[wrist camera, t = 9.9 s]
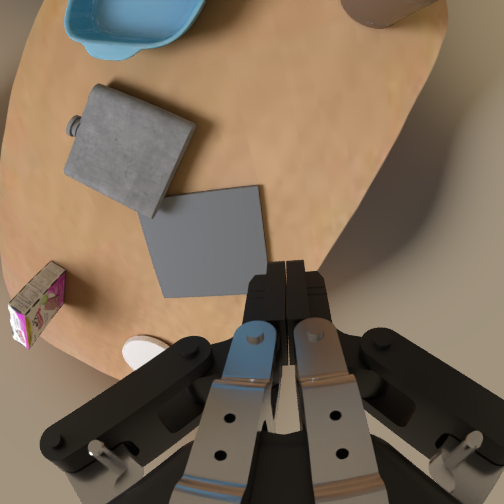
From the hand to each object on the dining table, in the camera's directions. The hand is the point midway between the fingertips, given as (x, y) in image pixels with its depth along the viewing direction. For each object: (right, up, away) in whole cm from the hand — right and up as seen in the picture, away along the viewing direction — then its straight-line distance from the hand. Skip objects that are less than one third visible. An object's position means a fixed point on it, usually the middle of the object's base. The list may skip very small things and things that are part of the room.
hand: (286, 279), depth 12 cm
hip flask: (-13, +13, +30) cm, 35 cm away
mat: (-9, +2, +37) cm, 38 cm away
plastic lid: (-24, -23, +52) cm, 62 cm away
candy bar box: (-45, -6, +44) cm, 64 cm away
